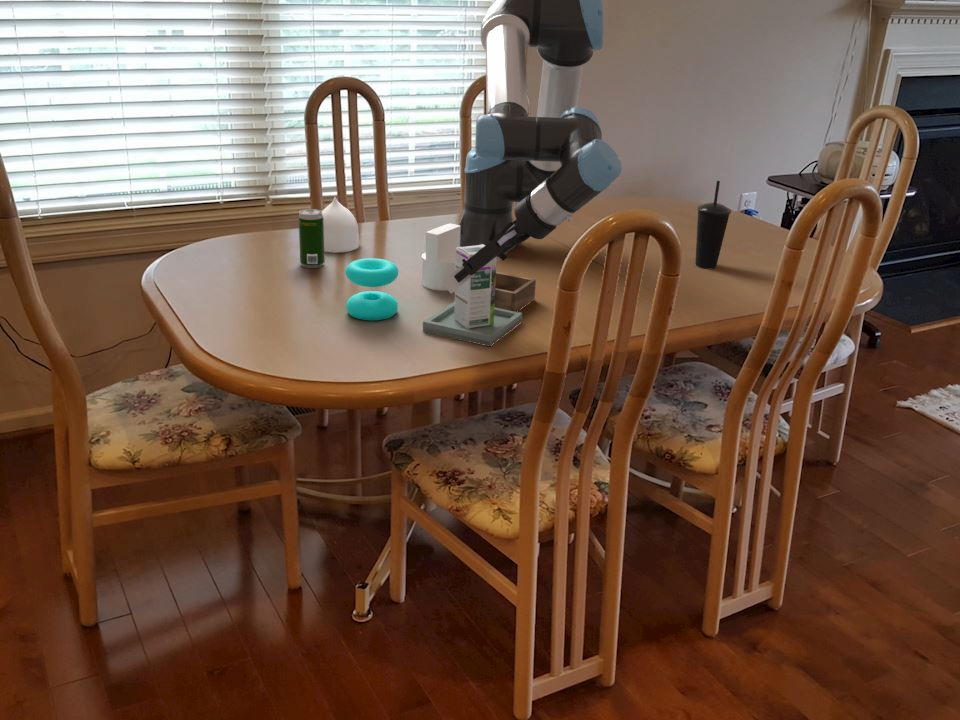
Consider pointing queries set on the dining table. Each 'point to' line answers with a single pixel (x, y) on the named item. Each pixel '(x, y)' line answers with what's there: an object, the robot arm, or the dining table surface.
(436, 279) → the cylinder with rectangular tab
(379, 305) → the donuts
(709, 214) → the drinking cup
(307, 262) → the beer can
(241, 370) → the dining table surface
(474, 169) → the robot arm
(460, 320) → the syrup box
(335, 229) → the teardrop
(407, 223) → the dining table surface
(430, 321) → the tray
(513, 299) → the brown square open box
